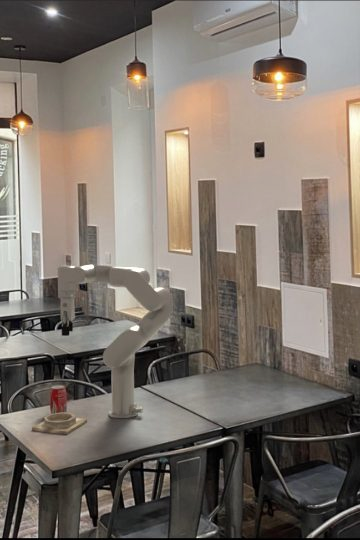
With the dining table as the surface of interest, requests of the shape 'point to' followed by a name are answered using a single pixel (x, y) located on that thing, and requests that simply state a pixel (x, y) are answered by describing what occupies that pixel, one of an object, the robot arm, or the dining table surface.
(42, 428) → the drink holder
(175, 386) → the dining table surface
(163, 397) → the dining table surface
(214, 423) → the dining table surface
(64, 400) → the soda can
